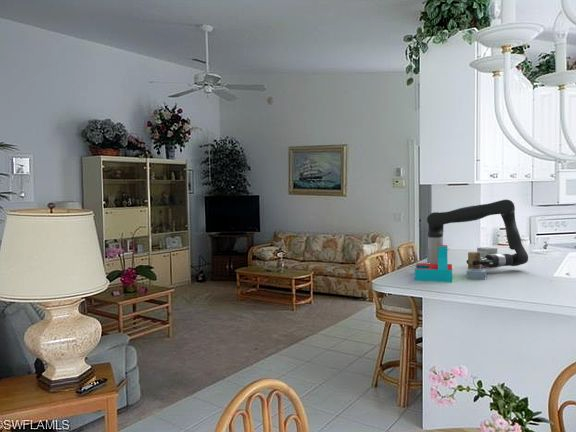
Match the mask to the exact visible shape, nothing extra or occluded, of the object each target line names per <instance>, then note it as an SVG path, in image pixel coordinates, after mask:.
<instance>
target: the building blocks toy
mask: <svg viewBox="0 0 576 432" xmlns="http://www.w3.org/2000/svg"><path fill="white" fill-rule="evenodd" d="M414 281H418V282H438V283H439V282H440V283H441V282H442V283H443V282H444V283H453V265H452V263H448V245H447V244H443V245H438V264H427V263H424V262H423V263H422V262H420V263H419V262H418V263H416V265H415V268H414Z"/></svg>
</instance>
